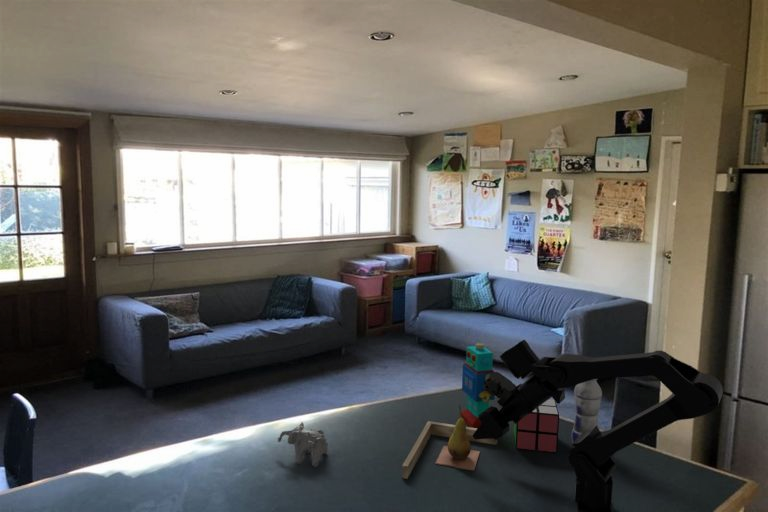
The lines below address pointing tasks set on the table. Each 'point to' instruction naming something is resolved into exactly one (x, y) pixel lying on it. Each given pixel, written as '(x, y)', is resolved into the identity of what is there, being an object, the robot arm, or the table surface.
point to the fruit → (459, 440)
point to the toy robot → (476, 383)
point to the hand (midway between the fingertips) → (483, 430)
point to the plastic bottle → (586, 407)
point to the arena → (444, 456)
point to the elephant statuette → (307, 443)
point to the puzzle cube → (539, 429)
